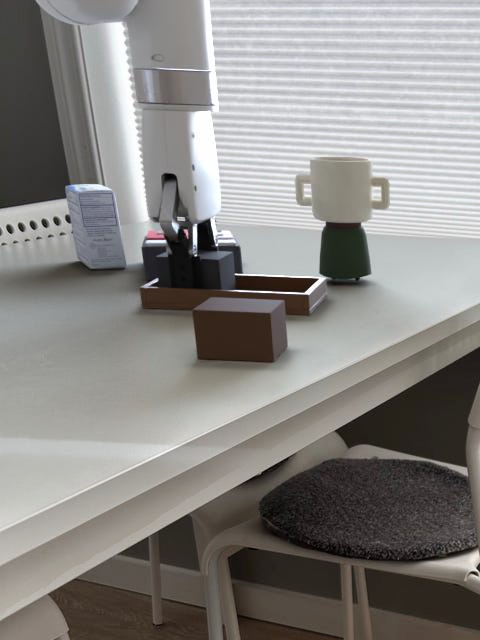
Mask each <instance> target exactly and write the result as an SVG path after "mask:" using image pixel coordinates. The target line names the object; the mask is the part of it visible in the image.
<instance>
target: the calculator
mask: <svg viewBox="0 0 480 640" xmlns="http://www.w3.org/2000/svg"><path fill="white" fill-rule="evenodd" d="M216 231H217V236H218V245H217V246H215V247H218V249H219V251H228V252H233V258H234V269H235V274H244V269H243V260H242V259H243V258H242V249H241V244H240V243H239V241H238V240H237V238H236V236H235V235H233V234H232V232H231V231H230V230H220V229H216ZM184 232H185V233H186V236H187V238H188V231H187V230H184ZM142 241H143V242H142V244H141V247H140V248H141V255H142V263H143V270H144V277H145V280H146V281H153V280H155V279H157V278H158V276H157V268H156V260H155V257H156V256H158V255H160V254H162V253H165V252H167V251H166V239H165V238H164V232H163V230H148V231H147V233H146V235H145V236H144V238H143V240H142Z"/></svg>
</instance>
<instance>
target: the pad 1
mask: <svg viewBox="0 0 480 640" xmlns="http://www.w3.org/2000/svg"><path fill="white" fill-rule="evenodd" d="M197 255H201V260H202V270H203V279H204V289H216V290H236V281H235V269H234V258H233V252H228V251H207V250H197ZM155 260H156V268H157V276H158V284H159V287H167V288H172V285H171V277H170V268H169V260H168V254H167V252H165V253H162V254H160V255H158V256H156V257H155Z"/></svg>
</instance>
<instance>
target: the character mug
mask: <svg viewBox="0 0 480 640" xmlns="http://www.w3.org/2000/svg"><path fill="white" fill-rule="evenodd" d="M373 170H374V169H373V160H372V159H369V158H364V157H354V156H320V157H319V156H318V157H317V156H315V157H310V158H309V172H310V173H309V174H305V173H304V174H303V173H298V174H296V175H295V176H294V177H295V178H294V189H295V201H296V204H297V205H298V206H300V207H311V211H312V215H313V218H314V219H316V220H318V221H321V222H325V225H324V226H323V228H322V230H321V235H320V237H321V238H320V248H319V250H320V251H319V264H318V265H319V268H318V269H319V270H318V274H319V275H321V276H322V277H323V278H328V279H331V280H333V281H335V280H355V281H356V282H359V281H361V278H364V277H367V276H370V275H372V265H371V257H370V249H369V245H368V238H367V233H366V230H365V228H364V227H363V226H362V223H366V222H368V221H370V220H372V218H373V215H374V210H381V211H386V210H388V209H389V208H390V204H391V203H390V199H391V198H390V197H391V196H390V181H389V179H388V178H385V177H374V176H373V173H374V171H373ZM304 185H310V191H311V192H310V193H311V194H310V195H311V197H310V196H305V189H304V188H305V187H304ZM374 188H380V197H381V198H380V200H379V199H374Z"/></svg>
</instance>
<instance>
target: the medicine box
mask: <svg viewBox="0 0 480 640" xmlns="http://www.w3.org/2000/svg"><path fill="white" fill-rule="evenodd" d="M64 189H65V195H66V196H65V197H66V203H67V208H68V213H69V219H70V224H71V231H72V237H73V242H74V247H75V252H76V258H77V260H79V261H80V262H81V263H82V264H83V265H85V266H87V267H88V268H89V269H91V270H109V269H110V270H111V269H126V267H127V260H126V253H125V247H124V242H123V241H124V240H123V234H122V228H121V223H120V219H119V218H120V216H119V211H118V204H117V199H116V193H115V191H114V190H113V189H112V188H109V187H108V186H105V185H102V184H98V183H82V184H70V185H69V184H68V185H65V187H64Z"/></svg>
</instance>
